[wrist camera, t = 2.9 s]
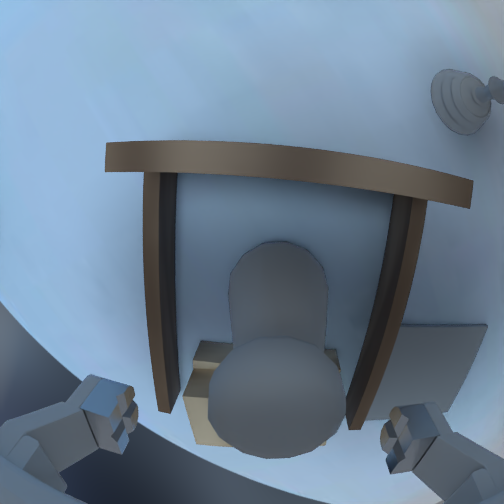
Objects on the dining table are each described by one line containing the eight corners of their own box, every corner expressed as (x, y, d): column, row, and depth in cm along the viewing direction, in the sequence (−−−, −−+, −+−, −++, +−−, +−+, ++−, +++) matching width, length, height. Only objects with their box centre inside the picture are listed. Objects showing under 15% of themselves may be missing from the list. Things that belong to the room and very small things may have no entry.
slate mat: (485, 324, 19) (487, 326, 19) (446, 409, 22) (447, 411, 22) (393, 324, 20) (394, 326, 20) (359, 417, 23) (360, 420, 22)
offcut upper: (326, 367, 19) (332, 396, 16) (321, 416, 20) (325, 445, 17) (193, 368, 19) (182, 396, 16) (204, 416, 21) (196, 444, 18)
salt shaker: (329, 303, 20) (380, 460, 7) (250, 324, 21) (220, 486, 8) (308, 221, 19) (365, 324, 6) (222, 247, 20) (139, 373, 7)
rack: (409, 175, 17) (481, 183, 10) (354, 405, 22) (371, 477, 15) (164, 150, 18) (96, 143, 10) (169, 388, 23) (137, 456, 16)
